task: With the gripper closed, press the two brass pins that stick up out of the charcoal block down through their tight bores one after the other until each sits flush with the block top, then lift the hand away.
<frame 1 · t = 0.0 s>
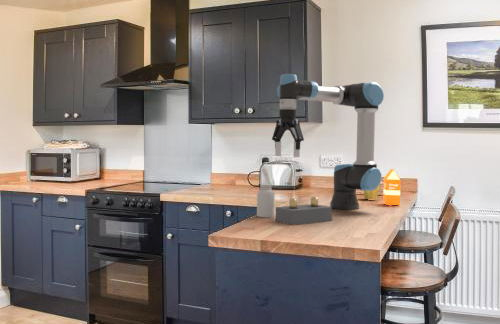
hand: (287, 156, 218), 28 cm above the countertop, tool pointing down, fingers open, 13 cm apart
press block: (303, 220, 214), on the countertop
pill bottle: (265, 216, 225), on the countertop
plant pot: (370, 200, 292), on the countertop
orange juice: (391, 205, 272), on the countertop
pin 1: (293, 205, 210), point 7 cm above the countertop, slide at 0.0 cm
pin 2: (314, 203, 217), point 7 cm above the countertop, slide at 0.0 cm
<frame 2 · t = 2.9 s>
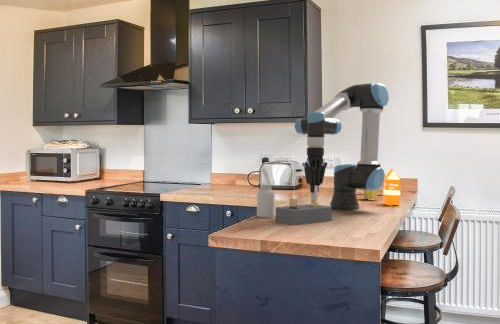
hand: (314, 199, 217), 9 cm above the countertop, tool pointing down, fingers closed
pin 2: (314, 206, 217), point 6 cm above the countertop, slide at 1.3 cm, touching gripper
everything else where it was.
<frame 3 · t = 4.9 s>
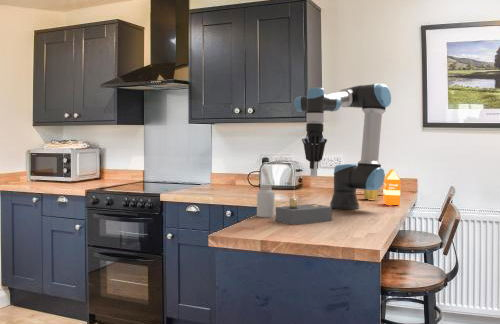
hand: (313, 176, 216), 20 cm above the countertop, tool pointing down, fingers closed
pin 2: (314, 211, 217), point 4 cm above the countertop, slide at 3.6 cm
everything else where it was.
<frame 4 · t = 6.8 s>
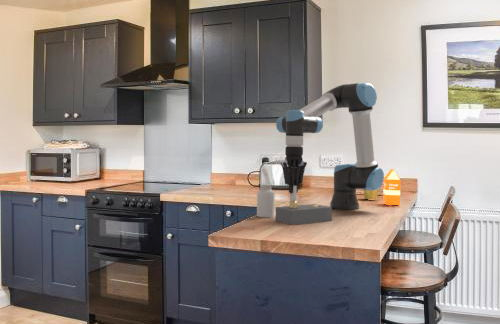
hand: (293, 200, 210), 9 cm above the countertop, tool pointing down, fingers closed
pin 1: (293, 207, 210), point 6 cm above the countertop, slide at 1.0 cm, touching gripper
everything else where it was.
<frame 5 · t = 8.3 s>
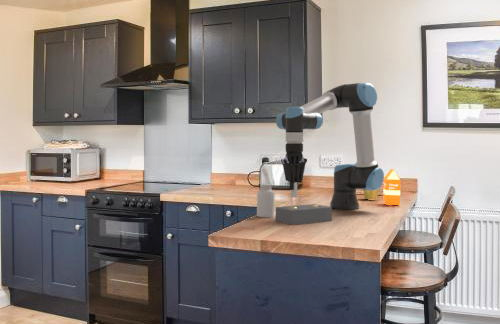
hand: (294, 197, 210), 11 cm above the countertop, tool pointing down, fingers closed
pin 1: (293, 213, 210), point 4 cm above the countertop, slide at 3.6 cm
everything else where it was.
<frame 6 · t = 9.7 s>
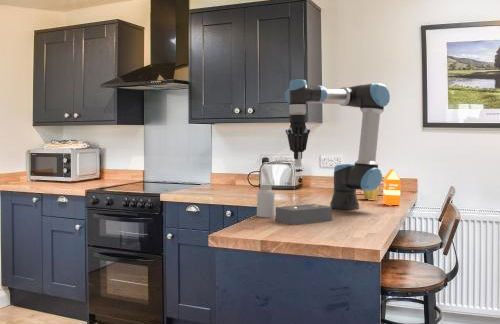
hand: (298, 166, 221), 24 cm above the countertop, tool pointing down, fingers closed
nothing on the countertop moved.
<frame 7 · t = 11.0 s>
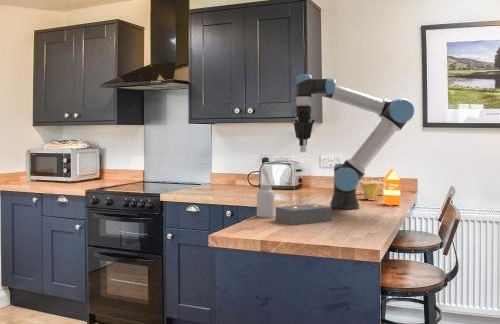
hand: (303, 152, 246), 29 cm above the countertop, tool pointing down, fingers closed
nothing on the countertop moved.
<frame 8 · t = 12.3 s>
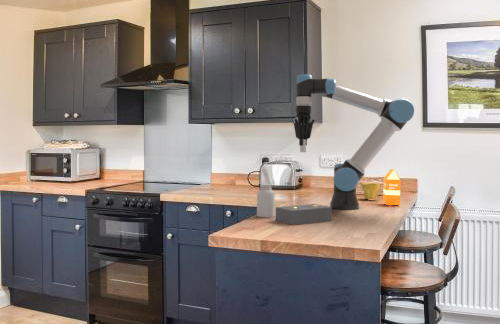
hand: (302, 152, 247), 29 cm above the countertop, tool pointing down, fingers closed
nothing on the countertop moved.
at the end: pin 2 slide at 3.6 cm; pin 1 slide at 3.6 cm; pill bottle moved 0.2 cm from its start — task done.
